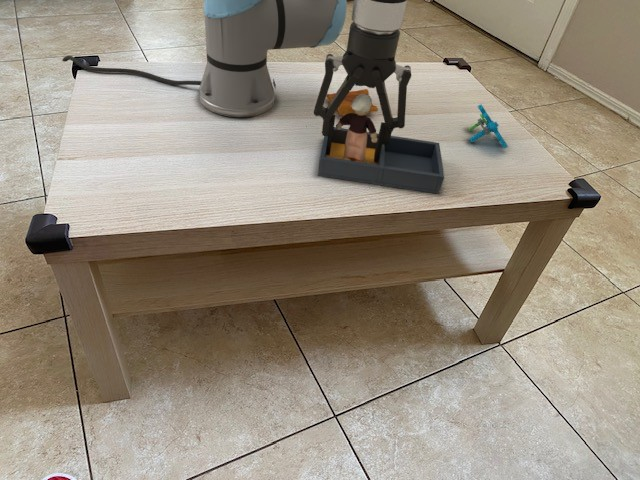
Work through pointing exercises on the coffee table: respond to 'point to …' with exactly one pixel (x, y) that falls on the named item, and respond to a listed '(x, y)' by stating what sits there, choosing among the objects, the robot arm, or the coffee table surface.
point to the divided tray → (386, 163)
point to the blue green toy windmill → (486, 127)
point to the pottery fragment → (350, 102)
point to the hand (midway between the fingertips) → (352, 154)
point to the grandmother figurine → (358, 129)
